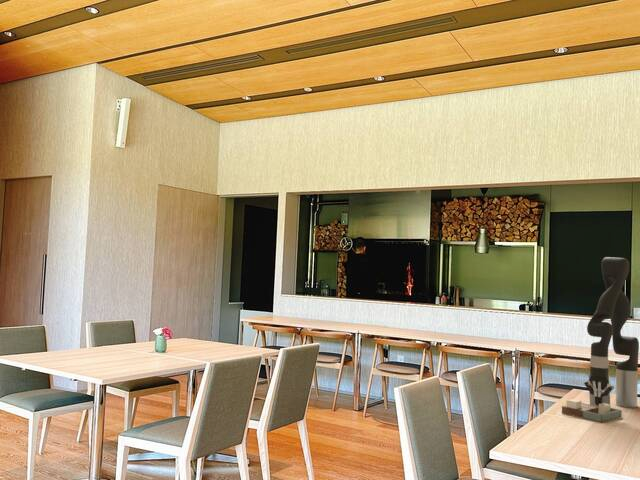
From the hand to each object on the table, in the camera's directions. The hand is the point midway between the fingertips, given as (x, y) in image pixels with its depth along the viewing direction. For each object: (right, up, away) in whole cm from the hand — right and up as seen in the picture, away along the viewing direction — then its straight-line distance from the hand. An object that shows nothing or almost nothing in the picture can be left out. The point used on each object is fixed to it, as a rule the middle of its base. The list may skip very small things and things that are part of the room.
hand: (598, 405), depth 268 cm
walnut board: (-7, -4, +1) cm, 8 cm away
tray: (-1, -4, -7) cm, 8 cm away
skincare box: (+6, -5, +13) cm, 15 cm away
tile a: (+1, -1, -1) cm, 2 cm away
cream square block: (-12, -1, -1) cm, 12 cm away
